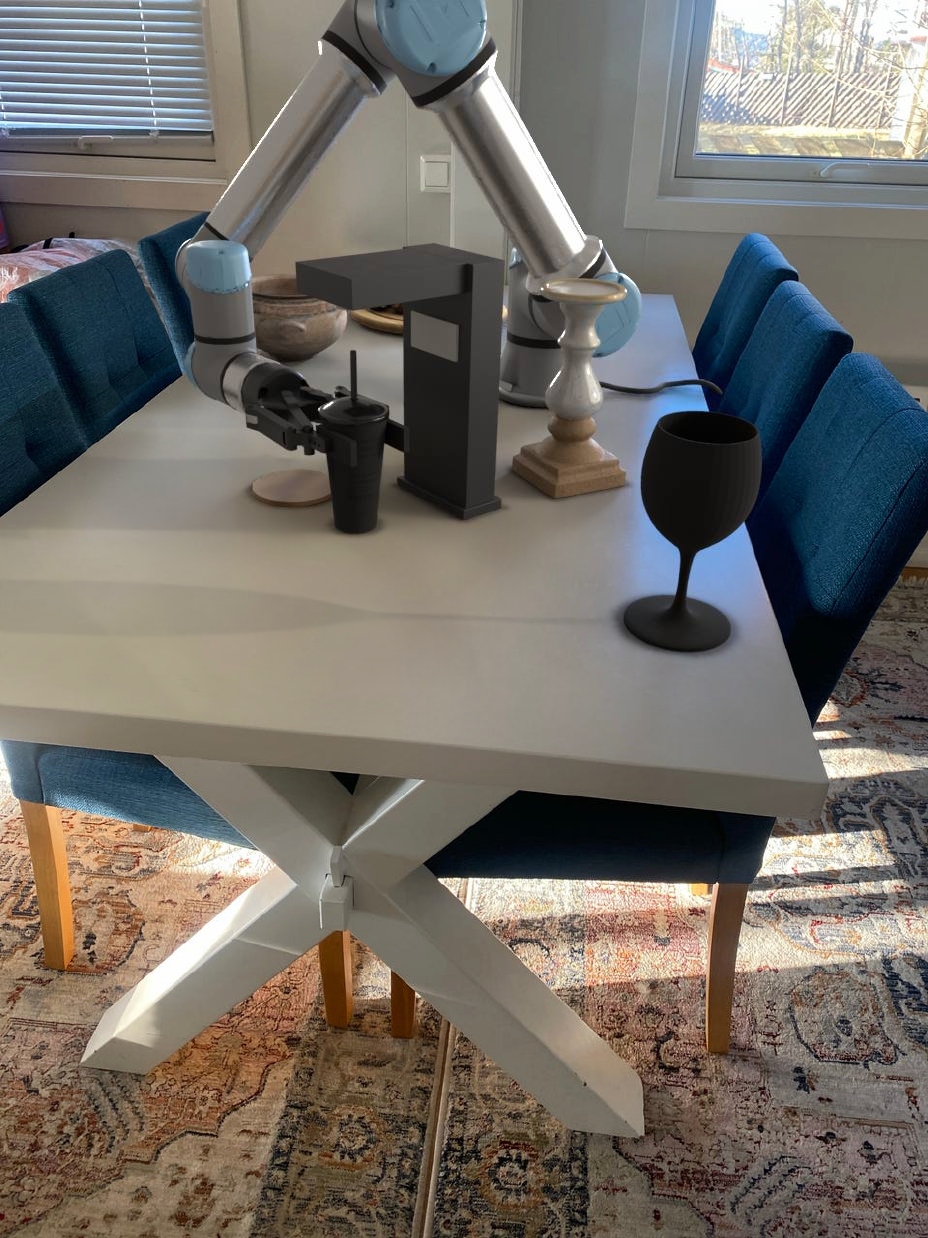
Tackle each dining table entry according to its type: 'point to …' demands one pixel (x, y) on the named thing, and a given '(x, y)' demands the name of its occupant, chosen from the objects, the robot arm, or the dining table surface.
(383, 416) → the drinking cup
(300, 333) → the cooking pot
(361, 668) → the dining table surface
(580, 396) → the candle holder
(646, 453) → the wine glass
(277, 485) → the coaster
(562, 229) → the robot arm
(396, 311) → the wooden plate
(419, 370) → the coffee maker
